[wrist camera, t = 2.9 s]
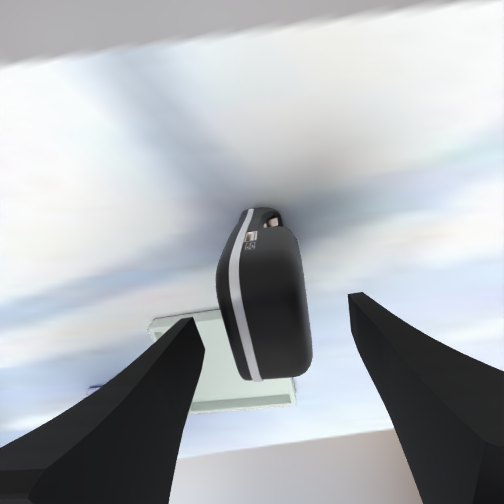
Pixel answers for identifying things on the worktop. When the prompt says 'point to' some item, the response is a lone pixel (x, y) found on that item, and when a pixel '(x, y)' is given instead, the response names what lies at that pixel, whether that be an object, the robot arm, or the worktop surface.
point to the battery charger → (264, 298)
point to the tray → (225, 371)
